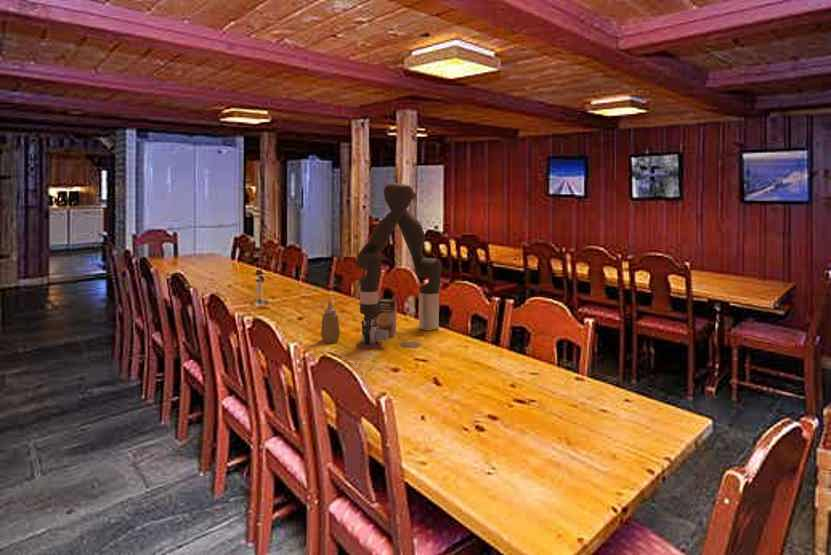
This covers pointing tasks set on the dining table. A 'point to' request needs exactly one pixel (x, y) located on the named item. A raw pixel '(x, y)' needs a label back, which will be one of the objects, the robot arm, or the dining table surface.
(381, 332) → the jug
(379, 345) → the stand
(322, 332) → the squeeze bottle
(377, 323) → the coffee box
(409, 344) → the felt coaster
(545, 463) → the dining table surface
